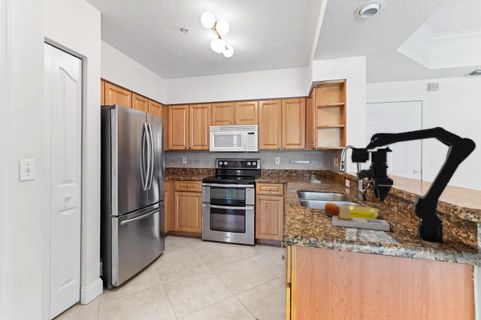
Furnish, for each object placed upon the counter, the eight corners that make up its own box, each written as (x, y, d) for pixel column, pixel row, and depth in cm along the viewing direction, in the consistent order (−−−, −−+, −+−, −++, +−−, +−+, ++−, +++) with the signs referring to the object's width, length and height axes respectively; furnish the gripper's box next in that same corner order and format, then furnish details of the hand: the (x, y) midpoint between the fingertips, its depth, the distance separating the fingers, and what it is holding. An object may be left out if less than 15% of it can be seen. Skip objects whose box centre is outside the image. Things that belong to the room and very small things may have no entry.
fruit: (318, 212, 120) (324, 199, 121) (328, 218, 122) (333, 205, 123) (328, 215, 112) (335, 201, 113) (339, 222, 114) (345, 208, 116)
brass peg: (348, 223, 103) (348, 206, 103) (349, 225, 100) (349, 208, 100) (339, 222, 105) (339, 205, 105) (339, 225, 101) (339, 207, 101)
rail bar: (385, 225, 99) (385, 219, 99) (389, 231, 92) (389, 224, 92) (332, 220, 108) (332, 215, 108) (332, 225, 100) (332, 219, 100)
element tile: (374, 223, 105) (374, 213, 105) (341, 218, 114) (341, 208, 114) (378, 216, 117) (378, 207, 117) (347, 212, 126) (347, 204, 126)
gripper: (354, 162, 104) (355, 195, 104) (360, 163, 87) (360, 202, 87) (382, 162, 100) (382, 196, 100) (393, 163, 83) (393, 204, 83)
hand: (378, 200), depth 93 cm, fingers open, 9 cm apart
